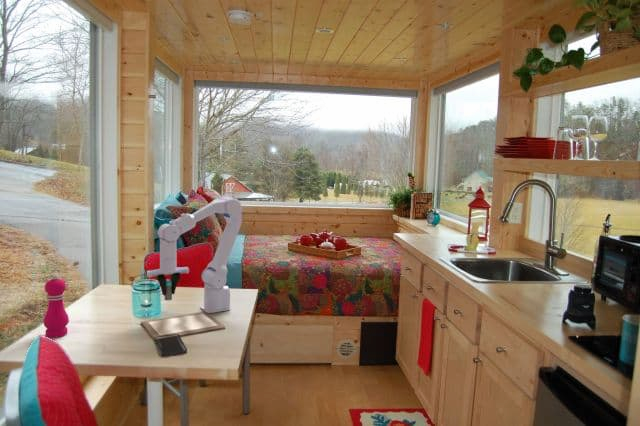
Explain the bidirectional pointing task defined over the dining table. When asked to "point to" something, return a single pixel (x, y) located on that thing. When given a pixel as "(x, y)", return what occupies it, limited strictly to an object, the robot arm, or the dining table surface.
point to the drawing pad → (182, 325)
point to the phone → (170, 345)
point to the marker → (168, 290)
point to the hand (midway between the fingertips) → (168, 294)
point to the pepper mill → (55, 308)
